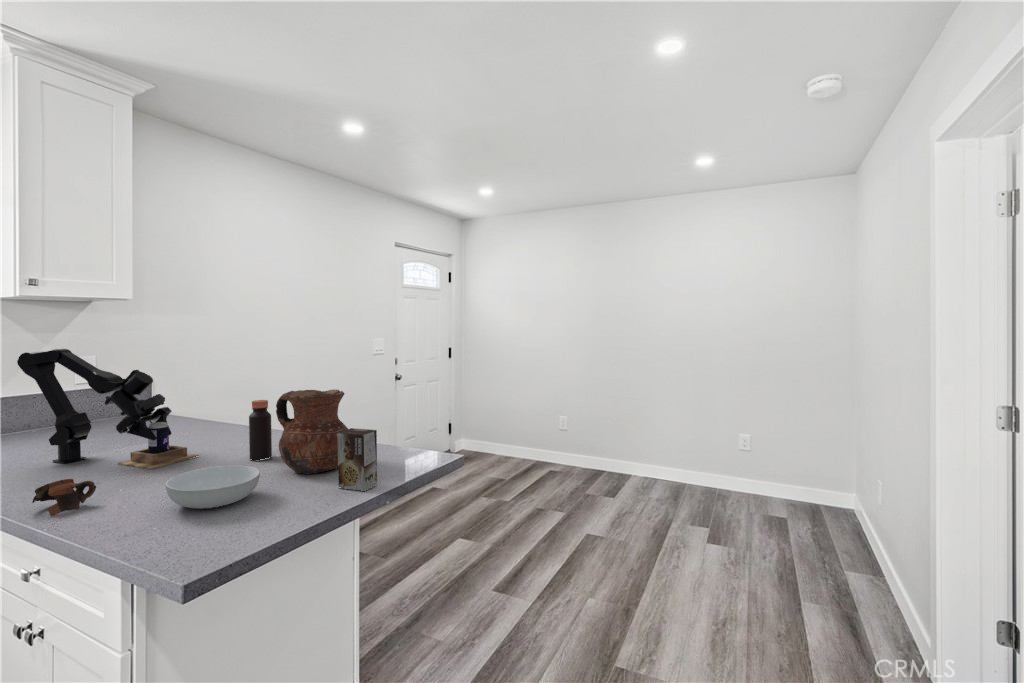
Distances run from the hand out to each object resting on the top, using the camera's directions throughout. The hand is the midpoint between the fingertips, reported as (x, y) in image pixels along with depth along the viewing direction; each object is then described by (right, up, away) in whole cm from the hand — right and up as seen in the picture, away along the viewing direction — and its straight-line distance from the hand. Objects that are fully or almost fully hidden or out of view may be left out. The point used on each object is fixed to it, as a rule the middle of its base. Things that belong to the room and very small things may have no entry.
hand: (163, 437), depth 164 cm
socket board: (-1, -8, 0) cm, 8 cm away
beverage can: (-2, -8, 0) cm, 8 cm away
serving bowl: (+41, -10, -38) cm, 57 cm away
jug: (+55, -9, -8) cm, 57 cm away
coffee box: (+74, -9, -26) cm, 79 cm away
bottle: (+32, -8, +3) cm, 33 cm away
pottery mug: (+6, -10, -42) cm, 43 cm away
